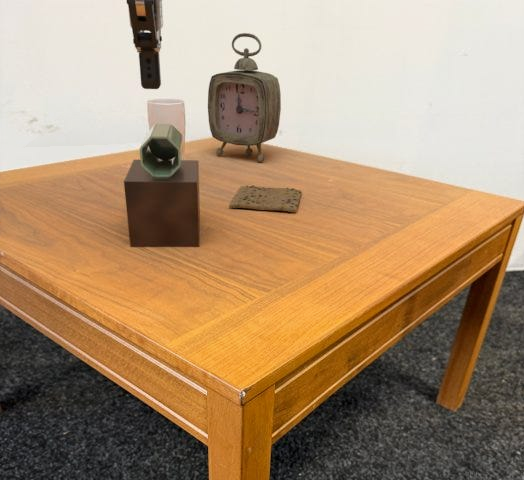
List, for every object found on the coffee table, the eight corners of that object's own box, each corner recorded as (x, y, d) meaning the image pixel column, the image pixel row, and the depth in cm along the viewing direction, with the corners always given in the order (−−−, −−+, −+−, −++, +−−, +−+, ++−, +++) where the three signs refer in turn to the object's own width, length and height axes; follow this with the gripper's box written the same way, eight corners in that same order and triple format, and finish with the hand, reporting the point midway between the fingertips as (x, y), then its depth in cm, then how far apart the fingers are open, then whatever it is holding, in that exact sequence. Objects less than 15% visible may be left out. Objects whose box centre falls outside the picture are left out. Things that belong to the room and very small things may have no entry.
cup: (181, 177, 77) (179, 136, 74) (141, 177, 77) (138, 135, 74) (183, 161, 85) (182, 123, 82) (147, 161, 84) (144, 123, 81)
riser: (130, 246, 80) (123, 181, 75) (138, 218, 90) (133, 159, 85) (199, 246, 81) (197, 181, 76) (200, 219, 91) (198, 160, 86)
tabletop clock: (208, 156, 127) (206, 31, 114) (227, 149, 134) (227, 30, 120) (264, 165, 122) (269, 35, 108) (281, 157, 129) (287, 34, 115)
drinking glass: (153, 189, 104) (147, 103, 96) (152, 179, 109) (146, 97, 101) (189, 188, 105) (186, 103, 97) (186, 179, 111) (182, 98, 103)
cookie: (239, 188, 106) (239, 183, 105) (302, 193, 105) (302, 188, 104) (227, 207, 96) (227, 202, 95) (296, 213, 95) (297, 207, 94)
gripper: (110, -91, 61) (126, 80, 71) (89, -111, 50) (111, 95, 60) (178, -88, 62) (185, 81, 71) (172, -106, 51) (180, 97, 60)
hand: (151, 88), depth 65 cm, fingers closed
